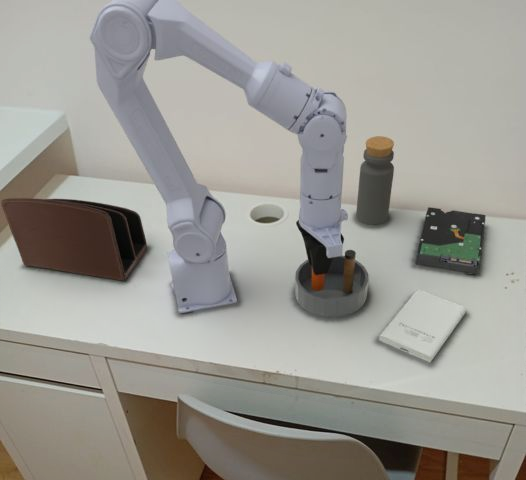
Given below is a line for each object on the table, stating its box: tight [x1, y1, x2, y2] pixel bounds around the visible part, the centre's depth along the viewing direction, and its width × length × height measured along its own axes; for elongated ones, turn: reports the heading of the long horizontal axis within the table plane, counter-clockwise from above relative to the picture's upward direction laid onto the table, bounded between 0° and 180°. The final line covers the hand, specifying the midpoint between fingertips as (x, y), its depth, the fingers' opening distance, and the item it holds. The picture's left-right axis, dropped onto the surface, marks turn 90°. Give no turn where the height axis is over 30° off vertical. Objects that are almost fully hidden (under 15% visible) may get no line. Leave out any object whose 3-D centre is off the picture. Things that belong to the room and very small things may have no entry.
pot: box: [294, 254, 370, 319], centre depth 92 cm, size 11×11×4 cm
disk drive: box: [415, 206, 486, 275], centre depth 100 cm, size 10×3×15 cm
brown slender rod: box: [342, 249, 357, 293], centre depth 91 cm, size 2×2×8 cm
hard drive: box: [378, 289, 467, 363], centre depth 87 cm, size 2×8×12 cm
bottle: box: [355, 135, 395, 227], centre depth 103 cm, size 6×6×15 cm
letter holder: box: [1, 197, 148, 282], centre depth 99 cm, size 10×20×14 cm, turn 74°
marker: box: [311, 269, 325, 291], centre depth 89 cm, size 2×2×8 cm
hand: (318, 267), depth 89 cm, fingers closed on marker, 2 cm apart
